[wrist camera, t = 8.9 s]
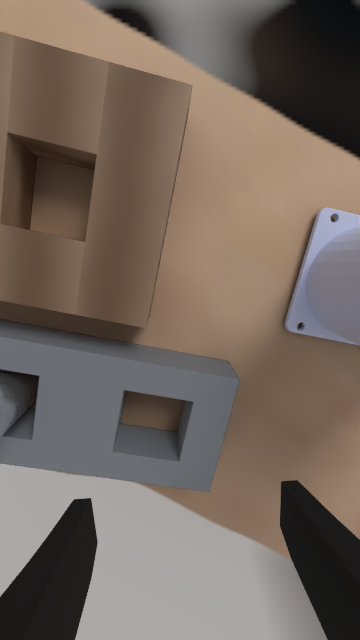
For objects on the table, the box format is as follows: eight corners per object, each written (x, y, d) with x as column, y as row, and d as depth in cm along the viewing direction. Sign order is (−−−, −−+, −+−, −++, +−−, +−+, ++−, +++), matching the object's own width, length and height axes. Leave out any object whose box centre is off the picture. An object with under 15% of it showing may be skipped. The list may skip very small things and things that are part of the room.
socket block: (187, 117, 16) (192, 85, 13) (149, 317, 18) (146, 328, 15) (-31, 59, 15) (-80, 9, 12) (-41, 280, 17) (-84, 284, 14)
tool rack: (228, 361, 19) (240, 379, 16) (203, 459, 21) (209, 492, 18) (-43, 311, 17) (-85, 321, 14) (-48, 422, 19) (-86, 451, 16)
